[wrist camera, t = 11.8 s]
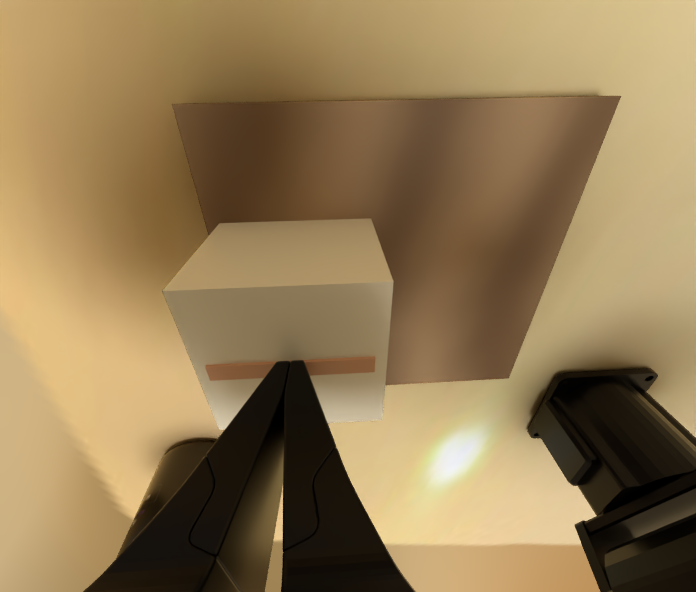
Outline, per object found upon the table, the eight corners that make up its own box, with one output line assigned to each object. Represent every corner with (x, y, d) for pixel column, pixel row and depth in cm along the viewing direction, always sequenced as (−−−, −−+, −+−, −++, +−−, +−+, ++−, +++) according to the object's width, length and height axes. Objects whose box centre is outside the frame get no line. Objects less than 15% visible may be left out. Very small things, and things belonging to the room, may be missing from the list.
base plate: (599, 95, 11) (621, 95, 10) (500, 365, 19) (508, 378, 18) (184, 103, 11) (172, 104, 10) (256, 378, 18) (253, 392, 18)
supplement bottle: (142, 448, 22) (-18, 754, 12) (231, 429, 21) (144, 734, 11) (193, 492, 25) (106, 752, 15) (271, 476, 25) (233, 737, 15)
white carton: (370, 218, 12) (394, 283, 8) (367, 333, 16) (382, 422, 11) (219, 223, 12) (160, 293, 8) (248, 338, 15) (218, 432, 11)
